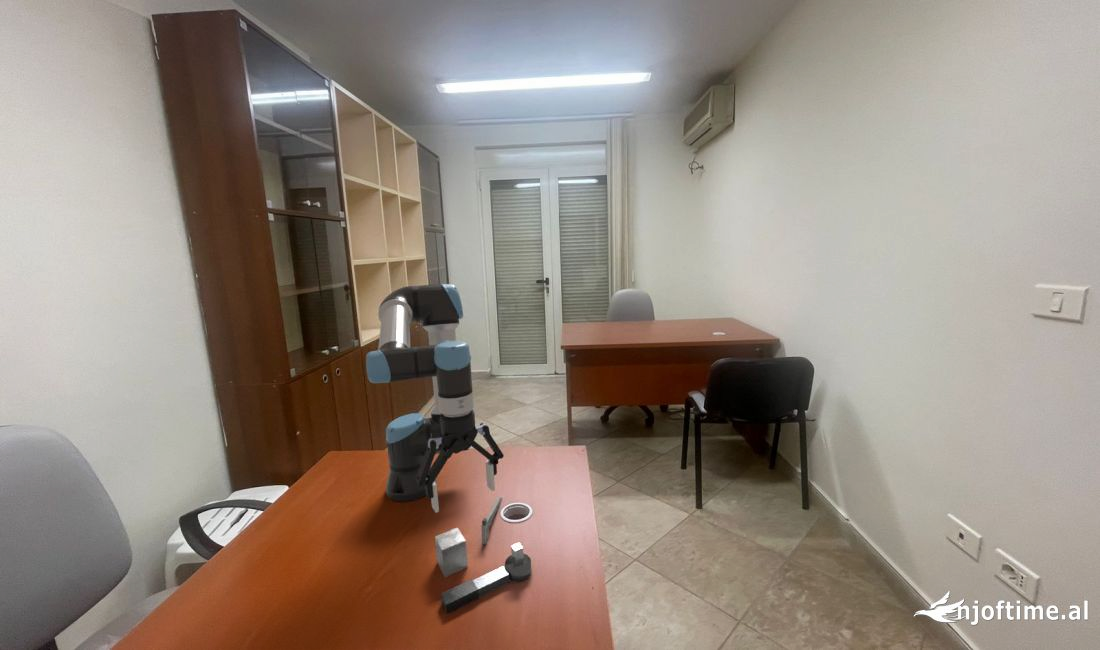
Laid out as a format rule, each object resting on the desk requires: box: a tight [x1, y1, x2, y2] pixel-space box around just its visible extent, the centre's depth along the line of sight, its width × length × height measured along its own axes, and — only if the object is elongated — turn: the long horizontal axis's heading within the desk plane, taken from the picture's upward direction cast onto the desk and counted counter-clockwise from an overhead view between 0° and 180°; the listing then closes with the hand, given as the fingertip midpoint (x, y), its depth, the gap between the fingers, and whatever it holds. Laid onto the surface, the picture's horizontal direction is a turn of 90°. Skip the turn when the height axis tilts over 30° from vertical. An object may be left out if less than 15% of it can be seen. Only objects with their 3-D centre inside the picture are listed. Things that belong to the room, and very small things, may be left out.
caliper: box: [481, 496, 503, 545], centre depth 113 cm, size 20×1×6 cm, turn 175°
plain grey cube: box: [434, 527, 469, 578], centre depth 97 cm, size 6×6×7 cm
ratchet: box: [440, 542, 532, 615], centre depth 90 cm, size 6×20×6 cm, turn 122°
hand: (464, 498), depth 94 cm, fingers open, 13 cm apart
